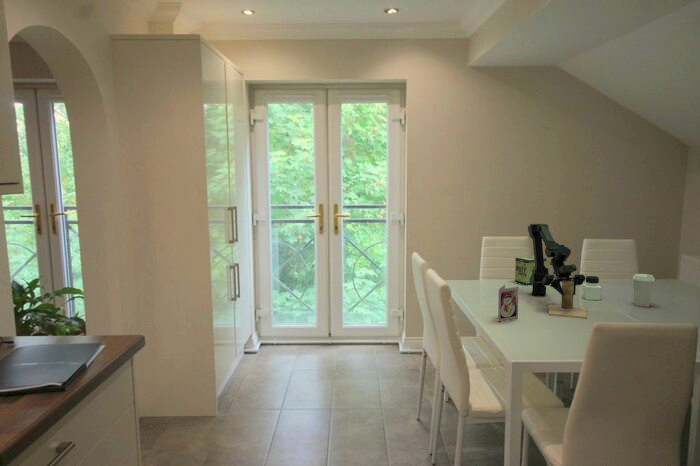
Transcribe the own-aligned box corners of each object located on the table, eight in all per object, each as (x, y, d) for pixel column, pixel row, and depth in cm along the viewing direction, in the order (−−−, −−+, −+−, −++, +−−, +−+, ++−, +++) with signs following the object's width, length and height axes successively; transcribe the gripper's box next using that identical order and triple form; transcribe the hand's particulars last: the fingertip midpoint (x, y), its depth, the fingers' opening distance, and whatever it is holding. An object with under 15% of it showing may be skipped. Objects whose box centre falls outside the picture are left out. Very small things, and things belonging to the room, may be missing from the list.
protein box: (514, 282, 286) (514, 257, 284) (533, 280, 292) (534, 255, 290) (527, 285, 276) (527, 260, 275) (546, 283, 282) (547, 258, 281)
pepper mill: (559, 307, 220) (560, 281, 219) (564, 305, 224) (565, 279, 222) (569, 310, 217) (570, 282, 215) (574, 308, 220) (575, 281, 218)
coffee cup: (646, 308, 224) (647, 278, 222) (626, 304, 233) (628, 274, 231) (657, 305, 229) (659, 275, 227) (638, 301, 237) (639, 272, 235)
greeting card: (499, 322, 206) (500, 289, 204) (488, 318, 213) (488, 286, 211) (519, 319, 210) (520, 287, 209) (507, 315, 217) (508, 283, 216)
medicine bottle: (601, 300, 240) (602, 277, 239) (586, 300, 242) (587, 277, 241) (596, 297, 247) (597, 275, 246) (582, 296, 249) (583, 274, 247)
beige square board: (548, 315, 216) (548, 313, 216) (548, 306, 231) (548, 304, 231) (587, 318, 210) (587, 316, 210) (584, 309, 225) (584, 307, 224)
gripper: (545, 258, 222) (554, 286, 212) (584, 257, 221) (595, 285, 212) (538, 271, 230) (546, 298, 221) (576, 270, 230) (586, 298, 220)
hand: (568, 295), depth 218 cm, fingers closed on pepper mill, 5 cm apart
